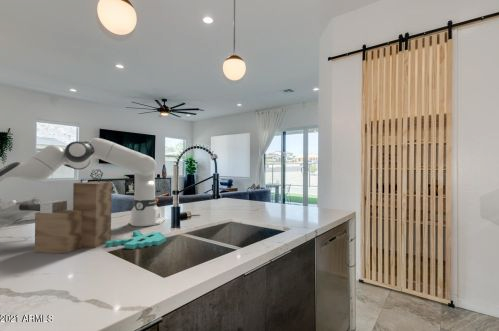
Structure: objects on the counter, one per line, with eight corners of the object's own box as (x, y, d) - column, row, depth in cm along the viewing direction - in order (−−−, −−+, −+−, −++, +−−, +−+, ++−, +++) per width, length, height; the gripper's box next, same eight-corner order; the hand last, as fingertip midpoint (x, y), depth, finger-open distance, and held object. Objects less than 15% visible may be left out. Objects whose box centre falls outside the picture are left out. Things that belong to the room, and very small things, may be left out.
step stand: (71, 239, 117) (71, 181, 117) (110, 240, 116) (111, 182, 116) (34, 252, 99) (35, 184, 100) (80, 254, 98) (81, 185, 98)
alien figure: (105, 247, 107) (148, 251, 103) (105, 242, 107) (149, 245, 103) (135, 235, 127) (173, 238, 123) (135, 230, 127) (173, 233, 123)
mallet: (30, 209, 107) (30, 199, 107) (66, 210, 106) (67, 200, 106) (13, 212, 100) (13, 201, 100) (52, 213, 99) (52, 202, 99)
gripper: (-35, 214, 94) (-5, 196, 93) (19, 205, 115) (45, 191, 114) (-28, 229, 94) (3, 211, 93) (26, 218, 115) (51, 203, 113)
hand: (26, 200), depth 104 cm, fingers open, 8 cm apart
